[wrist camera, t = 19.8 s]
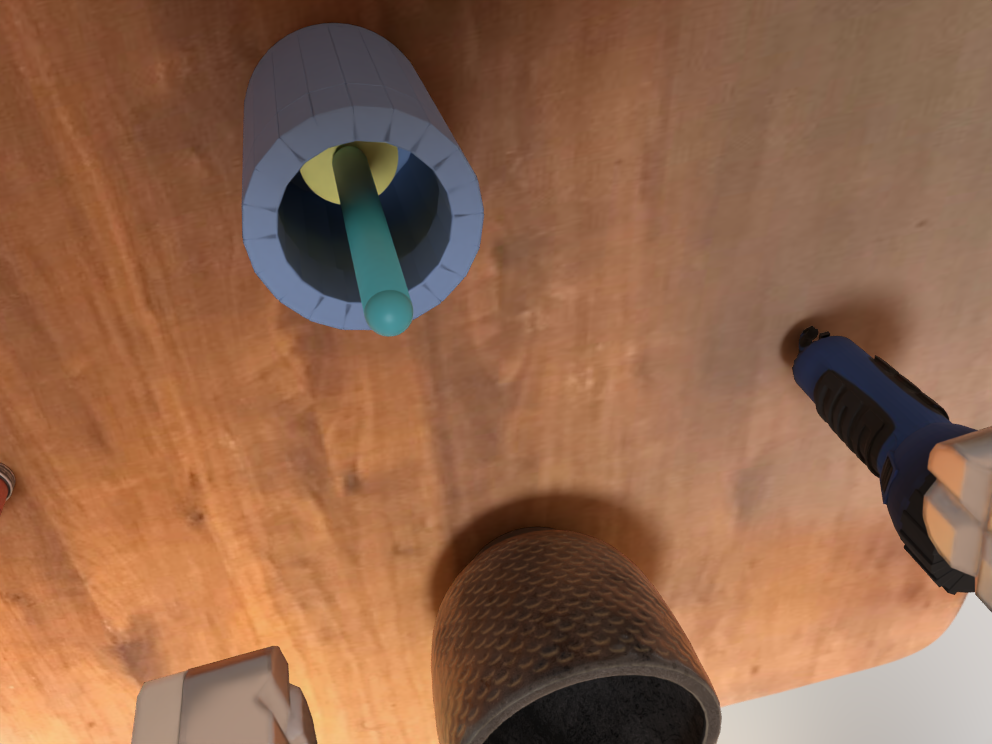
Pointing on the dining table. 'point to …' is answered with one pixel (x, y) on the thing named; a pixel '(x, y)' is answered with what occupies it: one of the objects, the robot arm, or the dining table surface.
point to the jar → (335, 121)
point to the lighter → (5, 484)
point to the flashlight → (883, 435)
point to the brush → (366, 226)
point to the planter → (564, 650)
